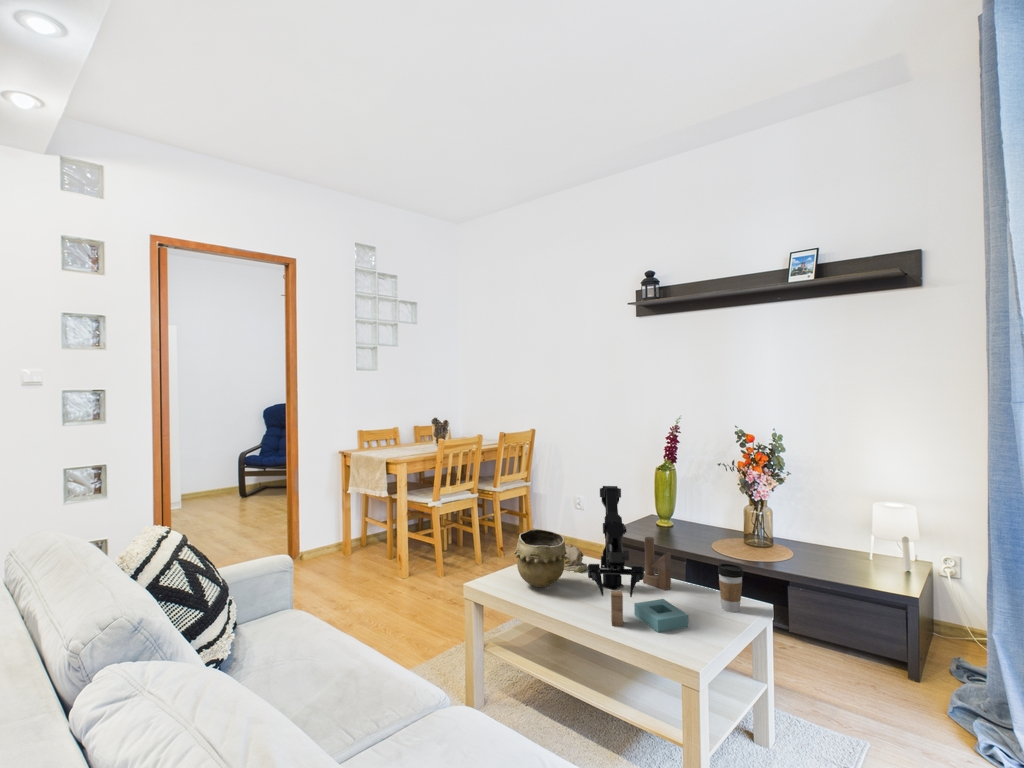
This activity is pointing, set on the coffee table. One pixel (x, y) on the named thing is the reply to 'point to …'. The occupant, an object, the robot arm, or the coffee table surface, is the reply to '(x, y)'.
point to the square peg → (617, 608)
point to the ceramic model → (574, 559)
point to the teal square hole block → (661, 615)
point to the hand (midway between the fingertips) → (616, 596)
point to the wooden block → (657, 567)
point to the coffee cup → (730, 586)
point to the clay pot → (540, 557)
